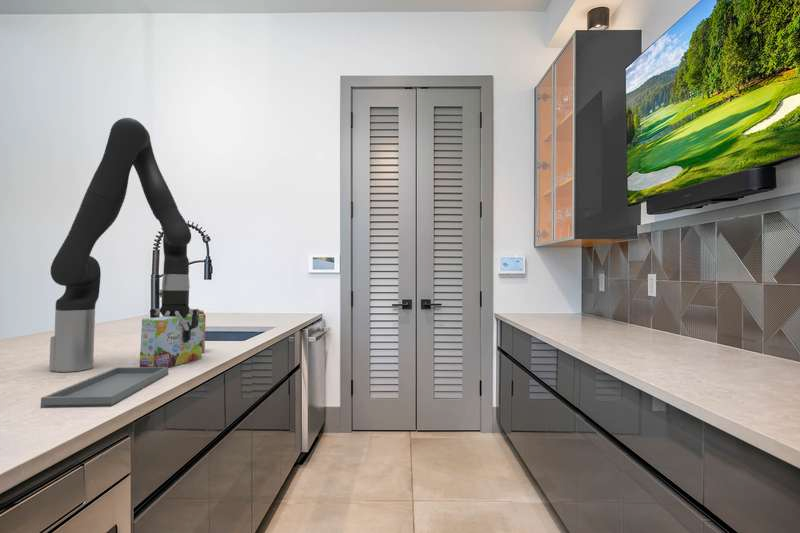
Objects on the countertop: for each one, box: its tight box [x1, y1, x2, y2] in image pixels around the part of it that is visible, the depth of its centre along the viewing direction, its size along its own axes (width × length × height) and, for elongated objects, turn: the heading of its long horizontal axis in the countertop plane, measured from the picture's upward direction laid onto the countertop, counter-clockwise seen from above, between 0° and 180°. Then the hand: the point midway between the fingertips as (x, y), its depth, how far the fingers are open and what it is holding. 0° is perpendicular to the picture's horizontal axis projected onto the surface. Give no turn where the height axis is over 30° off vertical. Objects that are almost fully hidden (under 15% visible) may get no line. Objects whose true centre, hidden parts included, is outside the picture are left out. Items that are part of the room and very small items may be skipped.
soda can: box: [188, 309, 207, 352], centre depth 153 cm, size 8×8×15 cm
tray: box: [40, 366, 169, 408], centre depth 105 cm, size 14×30×2 cm, turn 7°
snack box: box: [139, 313, 205, 368], centre depth 133 cm, size 21×6×15 cm, turn 169°
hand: (174, 342), depth 133 cm, fingers closed on snack box, 6 cm apart
